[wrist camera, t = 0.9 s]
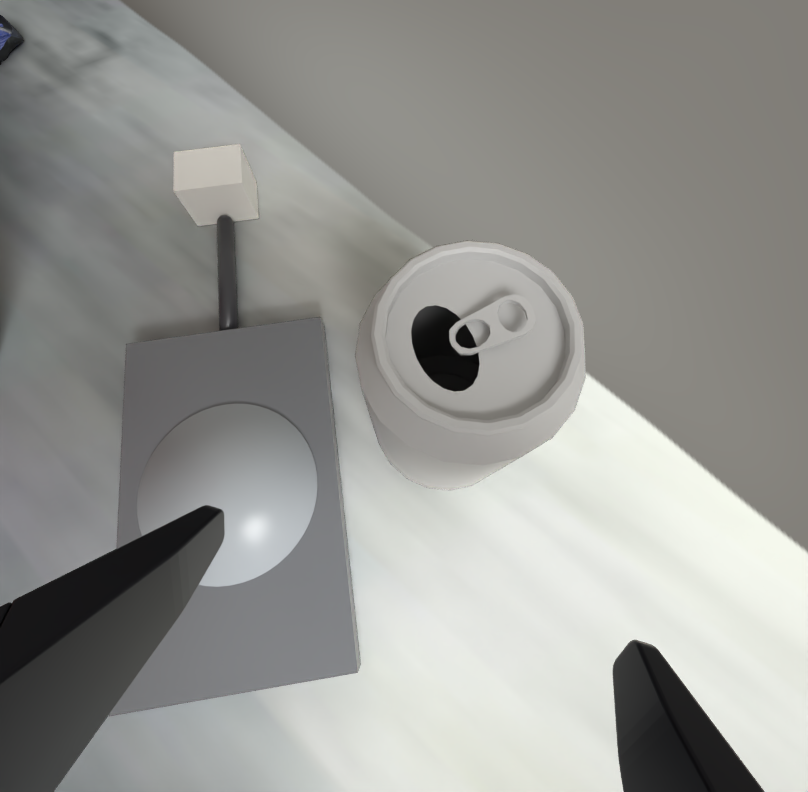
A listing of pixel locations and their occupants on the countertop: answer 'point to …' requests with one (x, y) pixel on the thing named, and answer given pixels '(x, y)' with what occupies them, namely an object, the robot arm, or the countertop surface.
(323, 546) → the pad
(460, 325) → the can
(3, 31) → the snack package
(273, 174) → the countertop surface
